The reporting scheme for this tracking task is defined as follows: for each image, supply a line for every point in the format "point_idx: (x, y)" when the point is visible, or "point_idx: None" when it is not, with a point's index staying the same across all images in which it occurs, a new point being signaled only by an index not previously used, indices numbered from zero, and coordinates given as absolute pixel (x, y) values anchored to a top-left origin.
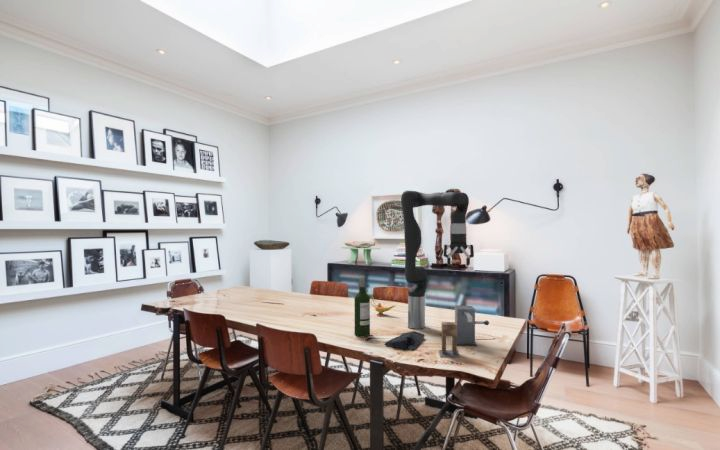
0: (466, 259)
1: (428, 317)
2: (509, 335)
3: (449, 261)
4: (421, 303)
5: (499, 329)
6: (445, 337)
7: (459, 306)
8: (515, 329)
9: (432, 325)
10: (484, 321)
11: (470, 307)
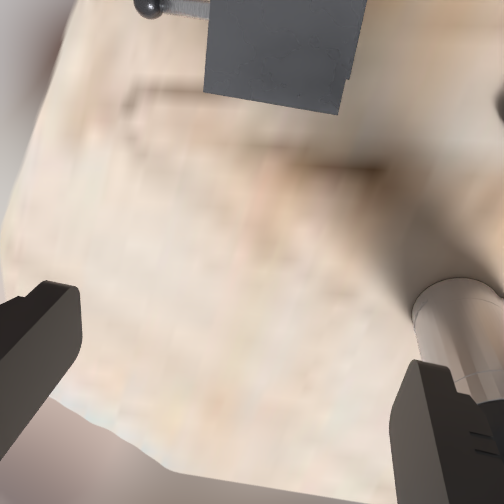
0: (4, 431)
1: (340, 429)
2: (50, 145)
3: (462, 433)
4: (477, 367)
5: (76, 236)
6: None
7: (313, 69)
8: (10, 230)
9: (365, 322)
10: (159, 3)
11: (231, 24)
